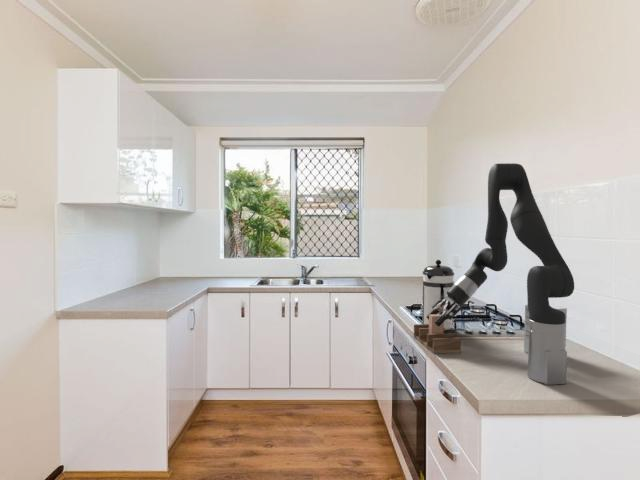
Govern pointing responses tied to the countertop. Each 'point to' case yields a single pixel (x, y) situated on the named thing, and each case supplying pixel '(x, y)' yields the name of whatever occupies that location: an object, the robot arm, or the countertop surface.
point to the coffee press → (436, 289)
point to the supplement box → (526, 332)
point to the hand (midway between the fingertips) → (432, 321)
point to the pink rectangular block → (432, 326)
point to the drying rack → (437, 340)
